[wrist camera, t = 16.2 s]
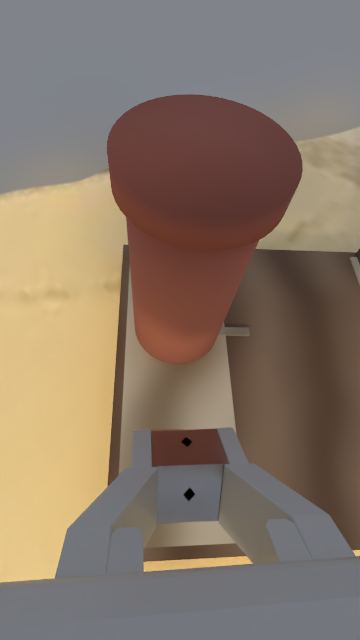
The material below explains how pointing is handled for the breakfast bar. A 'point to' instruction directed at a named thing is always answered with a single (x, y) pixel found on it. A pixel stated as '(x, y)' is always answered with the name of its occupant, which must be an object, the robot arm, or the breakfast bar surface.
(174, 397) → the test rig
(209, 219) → the red plug
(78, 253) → the breakfast bar surface
